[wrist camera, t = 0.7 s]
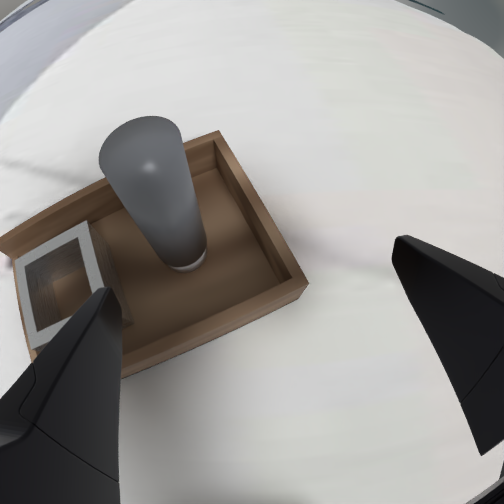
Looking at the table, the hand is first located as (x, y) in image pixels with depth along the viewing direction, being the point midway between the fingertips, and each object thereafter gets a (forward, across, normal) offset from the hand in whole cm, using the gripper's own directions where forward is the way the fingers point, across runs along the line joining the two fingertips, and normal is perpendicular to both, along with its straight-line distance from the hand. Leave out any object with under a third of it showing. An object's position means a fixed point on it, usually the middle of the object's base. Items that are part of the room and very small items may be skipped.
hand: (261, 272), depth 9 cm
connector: (+14, +4, +8) cm, 17 cm away
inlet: (+12, +14, +10) cm, 20 cm away
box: (+13, +9, +9) cm, 18 cm away
